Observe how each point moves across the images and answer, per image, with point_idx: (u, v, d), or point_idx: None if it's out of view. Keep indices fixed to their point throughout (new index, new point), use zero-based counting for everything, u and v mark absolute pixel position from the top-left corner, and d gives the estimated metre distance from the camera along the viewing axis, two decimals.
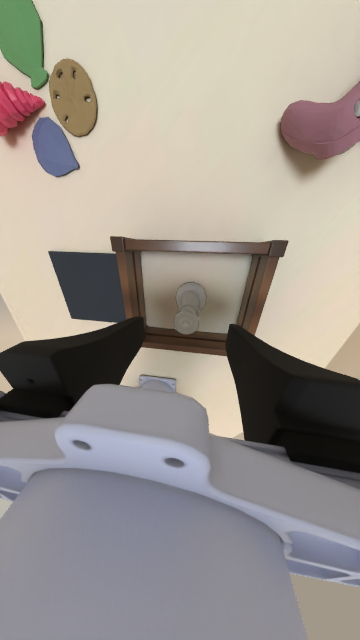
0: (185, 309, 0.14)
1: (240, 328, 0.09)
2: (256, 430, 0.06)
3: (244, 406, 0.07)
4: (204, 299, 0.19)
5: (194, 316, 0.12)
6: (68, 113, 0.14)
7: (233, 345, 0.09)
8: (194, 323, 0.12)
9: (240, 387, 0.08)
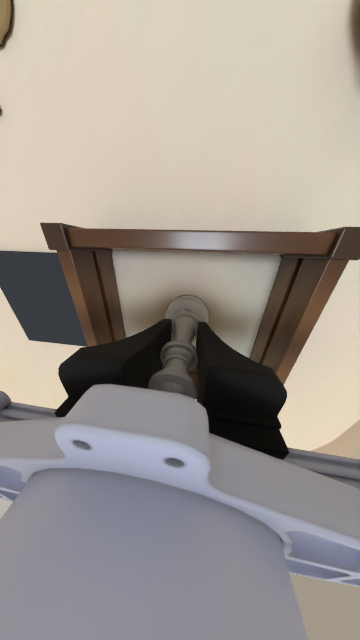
0: (173, 354, 0.08)
1: (204, 325, 0.10)
2: None
3: (197, 399, 0.07)
4: (206, 321, 0.13)
5: (188, 381, 0.06)
6: None
7: (198, 342, 0.10)
8: (189, 392, 0.06)
9: (198, 382, 0.08)
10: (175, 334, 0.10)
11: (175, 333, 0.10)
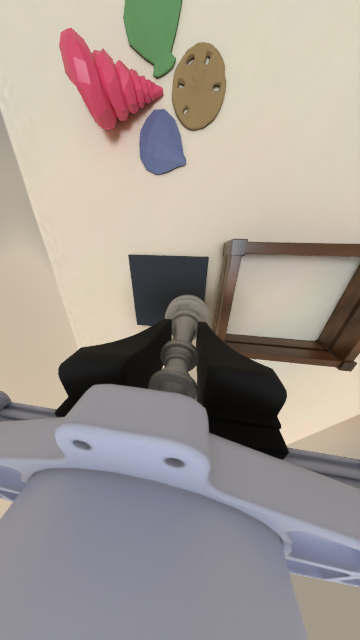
0: (173, 353, 0.08)
1: (204, 325, 0.10)
2: None
3: (197, 399, 0.07)
4: (207, 321, 0.13)
5: (188, 381, 0.06)
6: (190, 104, 0.13)
7: (198, 342, 0.10)
8: (189, 392, 0.06)
9: (198, 382, 0.08)
10: (175, 334, 0.10)
11: (175, 333, 0.10)
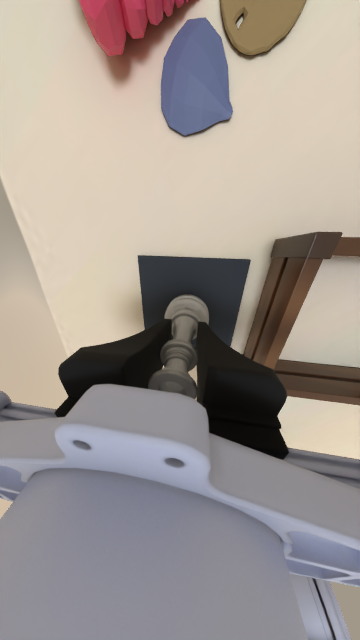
0: (173, 353, 0.08)
1: (204, 325, 0.10)
2: None
3: (197, 399, 0.07)
4: (207, 321, 0.13)
5: (188, 381, 0.06)
6: (250, 6, 0.08)
7: (198, 342, 0.10)
8: (189, 392, 0.06)
9: (198, 382, 0.08)
10: (175, 333, 0.10)
11: (175, 332, 0.10)
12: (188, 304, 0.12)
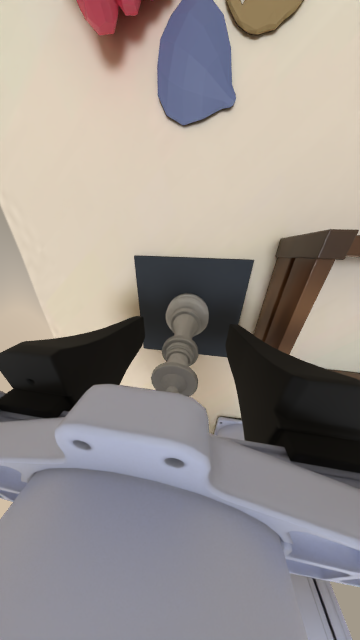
0: (174, 349, 0.08)
1: (240, 328, 0.09)
2: (256, 430, 0.06)
3: (244, 406, 0.07)
4: (206, 319, 0.13)
5: (189, 373, 0.06)
6: None
7: (233, 345, 0.09)
8: (190, 383, 0.07)
9: (240, 387, 0.08)
10: (176, 330, 0.10)
11: (176, 330, 0.11)
12: (188, 302, 0.12)
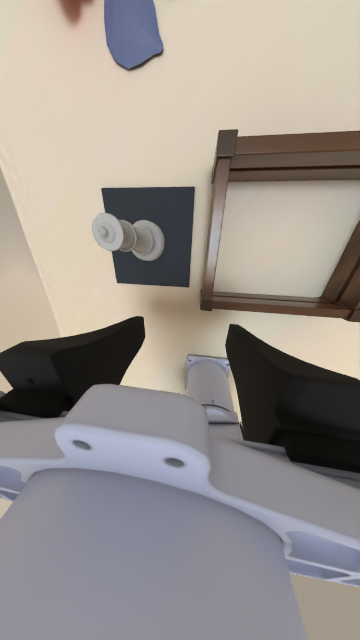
0: None
1: (240, 328, 0.09)
2: (256, 430, 0.06)
3: (244, 406, 0.07)
4: (159, 239, 0.16)
5: (114, 219, 0.09)
6: None
7: (233, 345, 0.09)
8: (117, 230, 0.10)
9: (240, 387, 0.08)
10: None
11: None
12: (143, 223, 0.15)
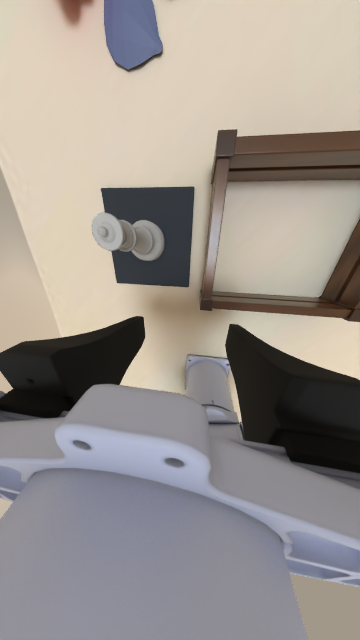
0: None
1: (240, 328, 0.09)
2: (256, 430, 0.06)
3: (244, 406, 0.07)
4: (159, 239, 0.16)
5: (114, 218, 0.09)
6: None
7: (233, 345, 0.09)
8: (117, 230, 0.10)
9: (240, 387, 0.08)
10: None
11: None
12: (143, 223, 0.15)
